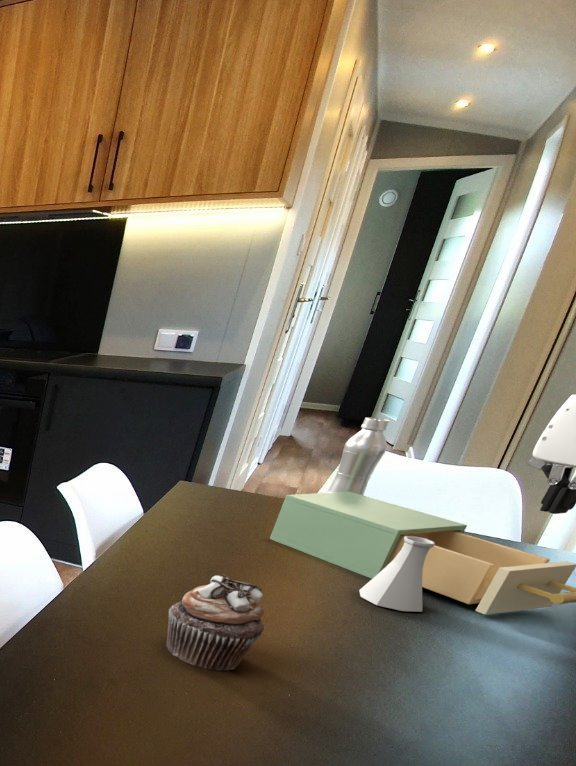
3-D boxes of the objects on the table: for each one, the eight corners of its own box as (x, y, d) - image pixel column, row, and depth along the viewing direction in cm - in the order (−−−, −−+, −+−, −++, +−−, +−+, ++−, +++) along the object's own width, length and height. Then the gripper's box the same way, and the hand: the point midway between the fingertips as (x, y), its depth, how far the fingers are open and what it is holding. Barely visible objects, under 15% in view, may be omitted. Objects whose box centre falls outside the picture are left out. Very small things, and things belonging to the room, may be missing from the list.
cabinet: (442, 573, 105) (467, 525, 101) (375, 580, 102) (399, 530, 98) (330, 534, 121) (348, 491, 118) (269, 539, 118) (286, 494, 114)
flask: (405, 596, 96) (436, 535, 92) (432, 617, 90) (467, 552, 86) (348, 588, 98) (376, 528, 94) (371, 608, 92) (402, 544, 88)
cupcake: (171, 627, 85) (194, 558, 81) (256, 655, 79) (285, 583, 75) (147, 652, 79) (170, 579, 75) (237, 684, 73) (268, 607, 69)
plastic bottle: (352, 515, 133) (395, 418, 124) (358, 524, 127) (402, 423, 119) (314, 509, 136) (353, 414, 127) (318, 517, 131) (359, 419, 122)
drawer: (597, 622, 88) (626, 578, 85) (529, 631, 85) (557, 586, 82) (416, 560, 108) (435, 522, 105) (356, 565, 105) (374, 527, 102)
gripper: (721, 396, 84) (638, 526, 92) (570, 381, 97) (509, 496, 105) (685, 397, 82) (604, 530, 90) (536, 381, 95) (476, 498, 103)
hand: (553, 511), depth 97 cm, fingers closed
